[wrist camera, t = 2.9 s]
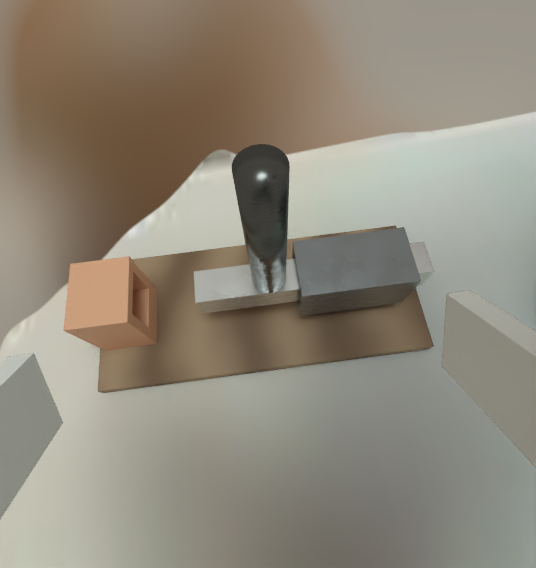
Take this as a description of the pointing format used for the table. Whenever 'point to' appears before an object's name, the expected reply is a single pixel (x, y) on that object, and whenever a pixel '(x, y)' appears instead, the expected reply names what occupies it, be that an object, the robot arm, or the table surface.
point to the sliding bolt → (264, 240)
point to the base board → (250, 329)
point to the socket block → (111, 304)
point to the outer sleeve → (354, 271)
